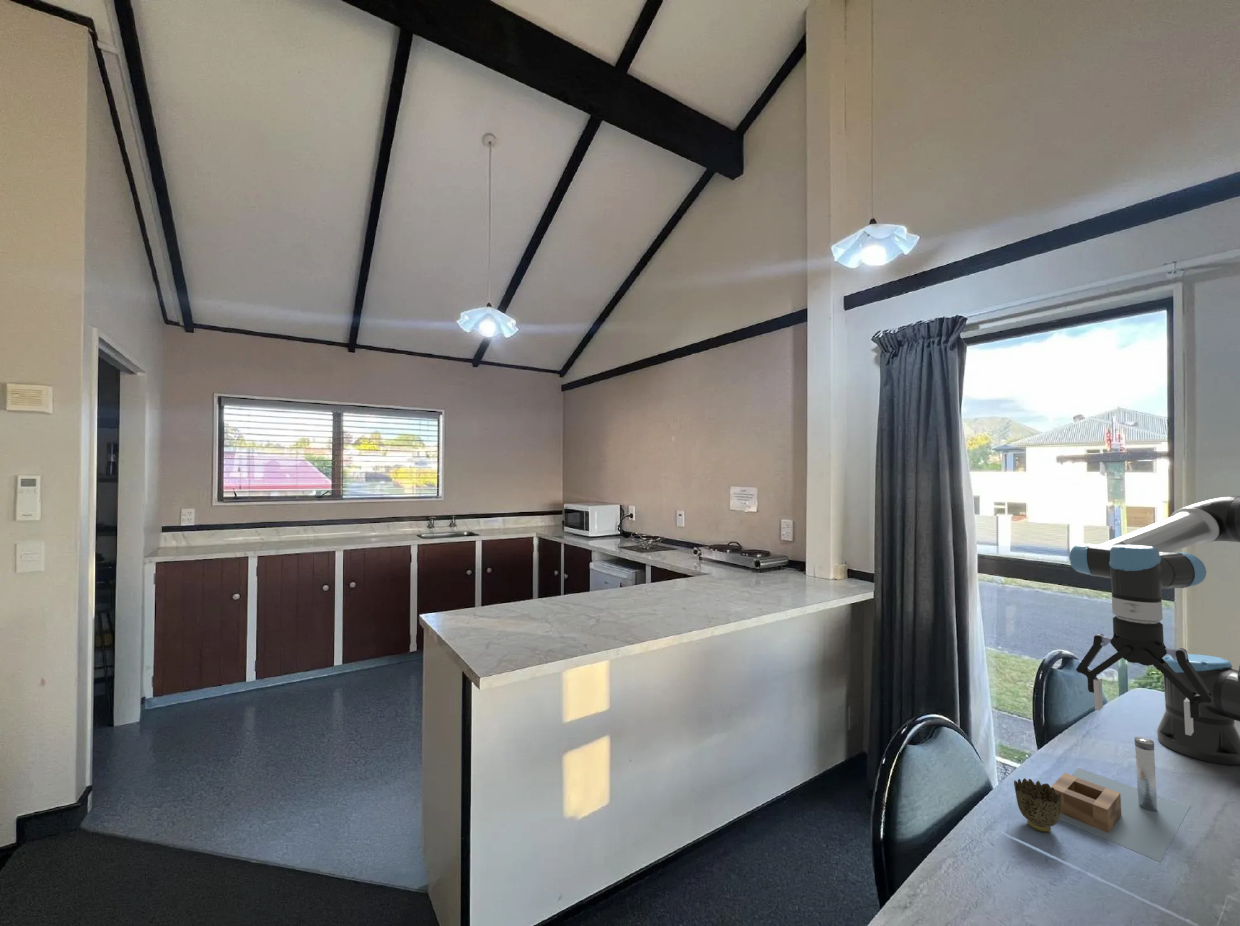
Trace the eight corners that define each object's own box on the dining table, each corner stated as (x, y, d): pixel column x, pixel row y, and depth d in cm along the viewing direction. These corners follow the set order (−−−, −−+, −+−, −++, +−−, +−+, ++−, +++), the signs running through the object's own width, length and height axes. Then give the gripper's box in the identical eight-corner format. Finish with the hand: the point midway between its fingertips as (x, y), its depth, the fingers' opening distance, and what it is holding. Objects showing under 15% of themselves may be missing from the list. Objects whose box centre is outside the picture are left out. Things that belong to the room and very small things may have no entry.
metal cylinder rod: (1139, 801, 110) (1136, 735, 110) (1159, 808, 107) (1155, 740, 108) (1136, 806, 108) (1132, 739, 108) (1155, 813, 106) (1152, 745, 106)
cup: (1072, 844, 98) (1070, 802, 99) (1029, 839, 100) (1027, 798, 100) (1048, 818, 106) (1046, 779, 106) (1008, 814, 107) (1006, 776, 107)
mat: (1078, 769, 122) (1078, 767, 122) (1189, 808, 107) (1189, 806, 107) (1038, 812, 108) (1037, 810, 108) (1160, 864, 93) (1160, 861, 93)
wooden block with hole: (1065, 793, 113) (1064, 772, 113) (1121, 815, 106) (1120, 792, 106) (1051, 809, 108) (1050, 787, 108) (1108, 833, 101) (1107, 809, 101)
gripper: (1056, 609, 117) (1060, 703, 116) (1224, 636, 96) (1230, 751, 96) (1067, 604, 121) (1071, 695, 121) (1230, 629, 101) (1236, 739, 100)
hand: (1141, 720), depth 108 cm, fingers open, 13 cm apart
